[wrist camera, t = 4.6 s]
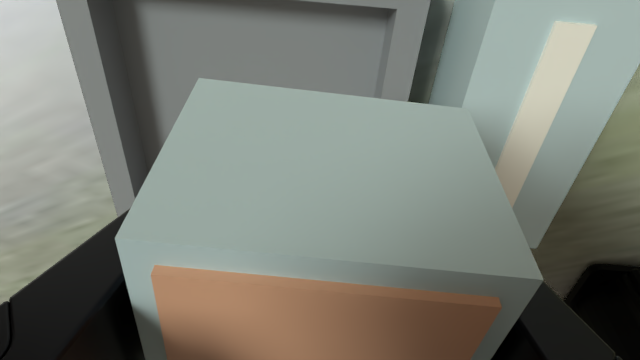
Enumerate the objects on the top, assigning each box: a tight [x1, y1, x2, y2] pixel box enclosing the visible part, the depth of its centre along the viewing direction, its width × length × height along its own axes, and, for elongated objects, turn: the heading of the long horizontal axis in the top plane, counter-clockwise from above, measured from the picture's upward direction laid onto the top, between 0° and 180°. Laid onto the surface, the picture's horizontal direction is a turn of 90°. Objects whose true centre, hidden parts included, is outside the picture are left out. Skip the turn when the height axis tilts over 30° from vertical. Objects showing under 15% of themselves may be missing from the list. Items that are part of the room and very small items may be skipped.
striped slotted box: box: [428, 0, 640, 249], centre depth 17 cm, size 12×5×4 cm, turn 176°
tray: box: [56, 0, 431, 217], centre depth 19 cm, size 12×12×3 cm
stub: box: [115, 78, 544, 360], centre depth 8 cm, size 4×5×4 cm
